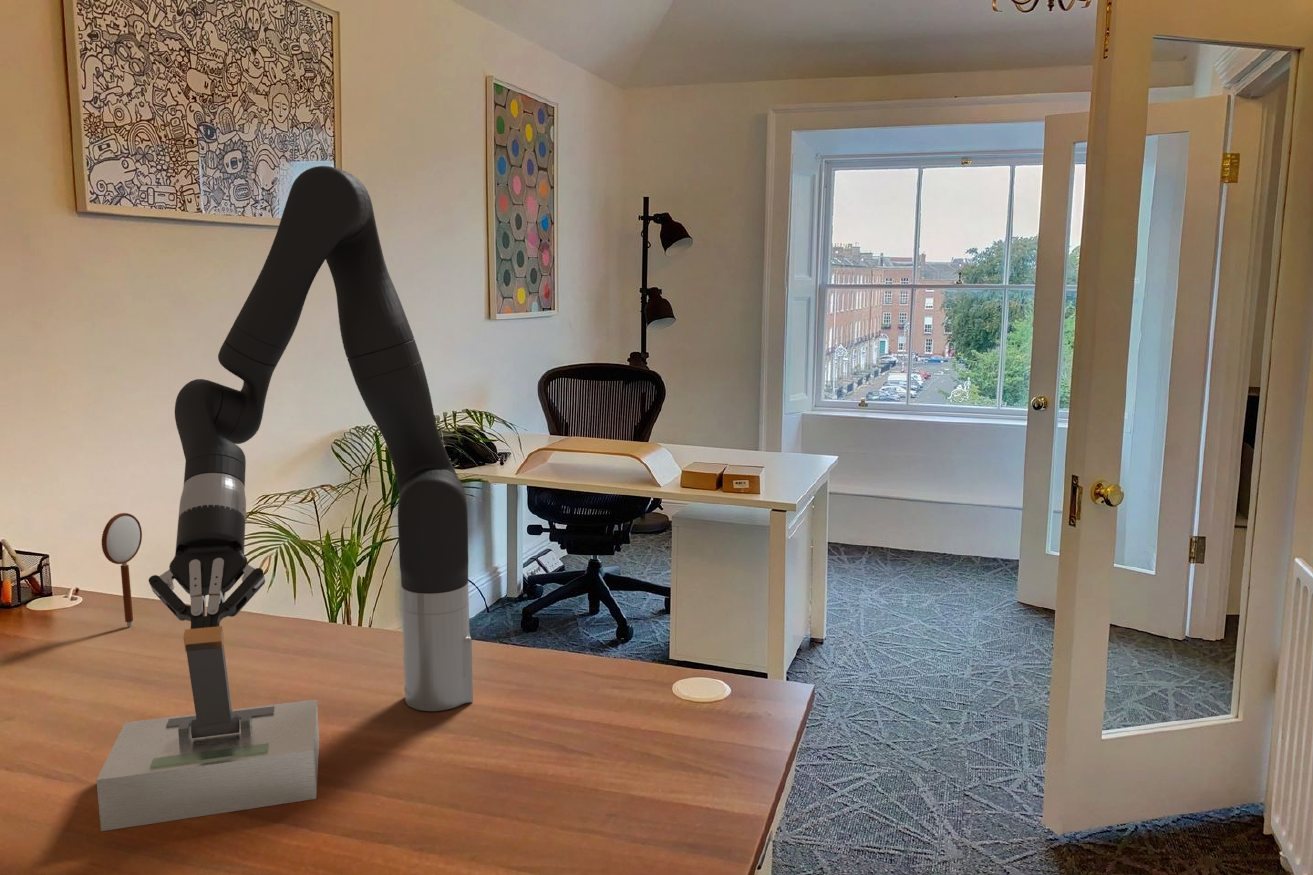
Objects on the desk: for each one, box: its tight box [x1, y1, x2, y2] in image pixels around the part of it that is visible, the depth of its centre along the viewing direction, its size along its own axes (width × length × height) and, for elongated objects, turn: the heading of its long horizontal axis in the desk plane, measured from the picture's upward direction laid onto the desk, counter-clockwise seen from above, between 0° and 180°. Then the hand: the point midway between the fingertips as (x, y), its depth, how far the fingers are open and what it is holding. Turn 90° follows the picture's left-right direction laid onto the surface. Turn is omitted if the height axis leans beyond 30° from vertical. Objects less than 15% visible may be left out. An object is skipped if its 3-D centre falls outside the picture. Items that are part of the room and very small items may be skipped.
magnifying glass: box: [101, 512, 143, 627], centre depth 160 cm, size 9×2×20 cm, turn 170°
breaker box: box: [95, 699, 320, 832], centre depth 111 cm, size 22×14×8 cm, turn 108°
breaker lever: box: [182, 625, 240, 739], centre depth 108 cm, size 5×2×15 cm, turn 108°
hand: (203, 649), depth 106 cm, fingers closed
